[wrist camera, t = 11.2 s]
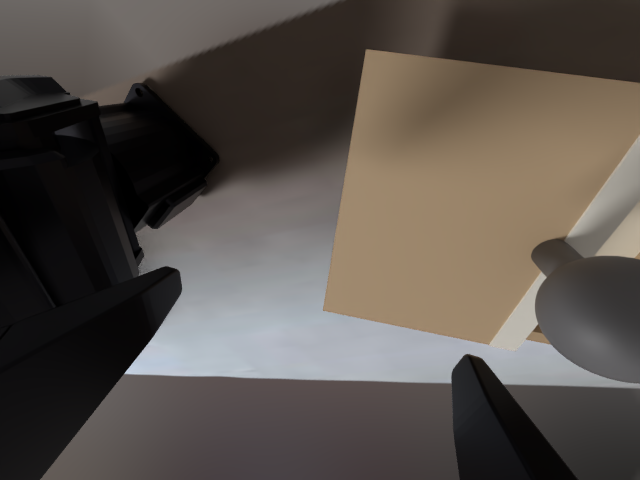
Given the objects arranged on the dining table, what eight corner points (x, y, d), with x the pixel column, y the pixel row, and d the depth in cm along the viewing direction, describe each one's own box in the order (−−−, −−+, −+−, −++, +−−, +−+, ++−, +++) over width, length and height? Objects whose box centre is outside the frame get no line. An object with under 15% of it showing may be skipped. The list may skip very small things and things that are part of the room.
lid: (324, 304, 19) (302, 408, 13) (366, 50, 11) (358, 24, 5) (517, 343, 18) (588, 476, 12) (718, 93, 10) (1223, 124, 4)
